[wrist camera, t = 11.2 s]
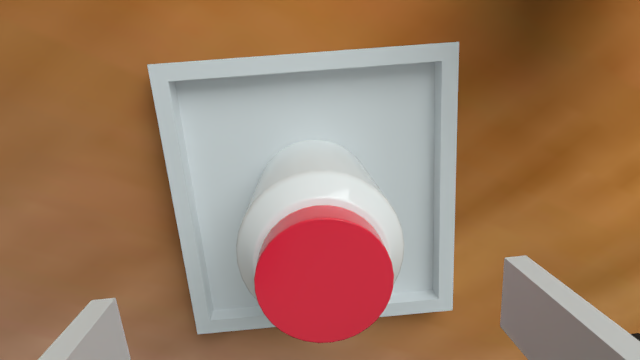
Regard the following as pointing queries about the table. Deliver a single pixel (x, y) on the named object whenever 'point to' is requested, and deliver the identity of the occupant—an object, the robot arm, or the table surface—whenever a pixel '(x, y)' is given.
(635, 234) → the table surface
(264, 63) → the tray
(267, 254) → the pill bottle
